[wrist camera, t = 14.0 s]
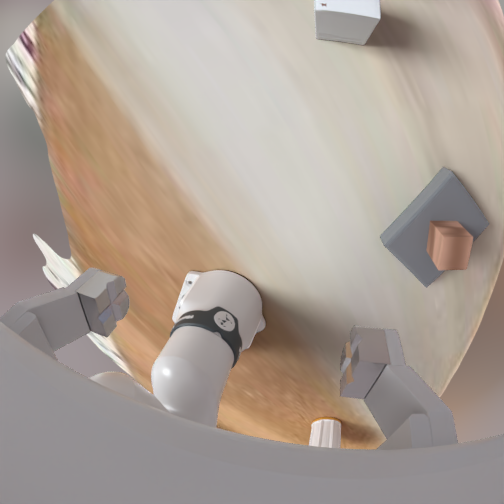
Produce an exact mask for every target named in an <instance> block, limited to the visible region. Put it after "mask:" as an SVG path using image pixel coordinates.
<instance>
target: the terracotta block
mask: <svg viewBox="0 0 504 504" xmlns="http://www.w3.org/2000/svg"><path fill="white" fill-rule="evenodd" d="M472 242H473V236H472V235H471V234H470V233H469V232H468V231H467V230H466V229H465V228H464V227H463V226H462V225H461V224H460V223H459V222H458V221H430V225H429V234H428V242H427V249H426V251H427V253H428V254H429V256H430V257H431V259H432V261H433V262H434V264H435V266H436V267H437V269H438V270H463V269H467V266H468V261H469V257H470V252H471V247H472Z"/></svg>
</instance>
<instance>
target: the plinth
mask: <svg viewBox="0 0 504 504" xmlns="http://www.w3.org/2000/svg"><path fill="white" fill-rule="evenodd" d="M430 221H458V222H459V223H460V224H461V225H462V226H463V227H464V228H465V229H466V230H467V231H468V232H469V233H470V234H471V235H472V236H473V242H474V240H475V239H476V238H477V237H478V236H479V235H480V234H481V233H482V232H483V231H484V229H485V228H486V227H487V226H488V225H489V223H488V221H487V219H486V218H485V216H484V215H483V213H482V212H481V210H480V209H479V207H478V206H477V204H476V203H475V202H474V200H473V199H472V197H471V196H470V194H469V193H468V192H467V190H466V189H465V188H464V186H463V185H462V184H461V182H460V181H459V180H458V178H457V177H456V176H455V175H454V173H453V172H452V171H450V170H448V169H446V168H444V167H443V168H442V169H441V170H440V171H439V172H438V174H437V175H436V176H435V177H434V178H433V179H432V181H431V182H430V183H429V184H428V185H427V186H426V187H425V189H424V190H423V191H422V192H421V193H420V194H419V195H418V196H417V197H416V199H415V200H414V201H413V202H412V203H411V204H410V205H409V206H408V207H407V208H406V209H405V210H404V212H403V213H402V214H401V215H400V216H399V217H398V218H397V219H396V220H395V221H394V222H393V223H392V224H391V225H390V226H389V227H388V228H387V229H386V230H385V231H384V232H383V233H382V234H381V236H380V238H381V240H382V243H383V245H384V246H385V247H386V248H387V249H388V250H389V251H390V252H391V253H392V254H393V255H394V256H395V257H396V258H397V259H398V260H399V261H400V262H402V263H403V264H404V265H405V266H406V267H407V268H408V269H409V270H410V271H411V272H412V273H413V274H414V276H415V277H416V278H417V279H418V280H419V281H420V282H421V283H422V284H423V285H424V286H425V287H426V288H427V287H428V286H429V285H430V284H431V283H432V282H433V281H434V280H435V279H437V278H438V277H439V276H440V275H441V274H442V273H443V272H444V271H445V270H438V269H437V267H436V266H435V264H434V262H433V261H432V259H431V257H430V256H429V254H428V253H427V251H426V249H427V242H428V234H429V225H430ZM473 242H472V243H473Z"/></svg>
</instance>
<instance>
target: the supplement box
mask: <svg viewBox="0 0 504 504" xmlns="http://www.w3.org/2000/svg"><path fill="white" fill-rule="evenodd" d="M314 13H315V29H316V39H324V40H332V41H340V42H347V43H354V44H360V45H365V43H366V42H367V40H368V38H369V37H370V35H371V33H372V32H373V30H374V29H375V27H376V25H377V24H378V22H379V21H380V19H381V7H380V0H314Z"/></svg>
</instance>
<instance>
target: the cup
mask: <svg viewBox="0 0 504 504" xmlns="http://www.w3.org/2000/svg"><path fill="white" fill-rule="evenodd" d="M311 426H312V430H311V436H310V441H309V446H317V447H328V448H340V442H341V421H340V420H338V419H336V418H333V417H321V418H318V419H315V420H314V421H313V422H312V425H311Z"/></svg>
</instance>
